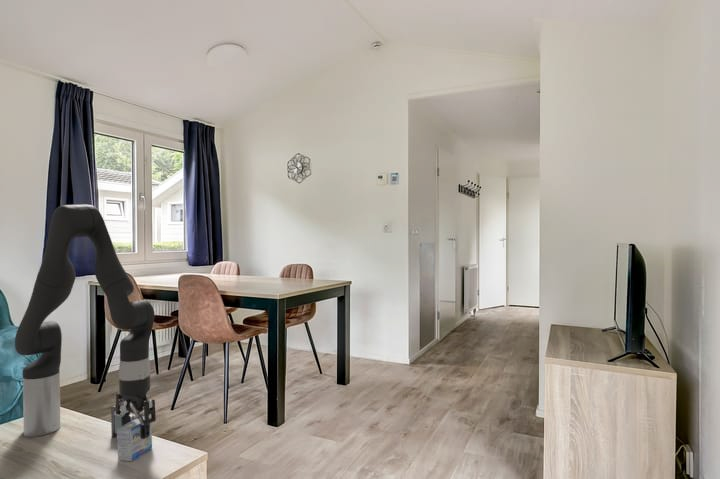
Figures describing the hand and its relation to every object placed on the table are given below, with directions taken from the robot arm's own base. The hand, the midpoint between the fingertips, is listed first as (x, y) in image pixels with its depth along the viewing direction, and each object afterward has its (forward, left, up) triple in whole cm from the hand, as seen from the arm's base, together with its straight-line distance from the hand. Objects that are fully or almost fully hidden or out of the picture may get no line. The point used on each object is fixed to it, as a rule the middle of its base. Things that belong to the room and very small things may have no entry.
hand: (135, 434), depth 120 cm
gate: (-10, +3, -4) cm, 11 cm away
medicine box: (0, 0, -6) cm, 6 cm away
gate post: (-16, +3, -5) cm, 17 cm away
